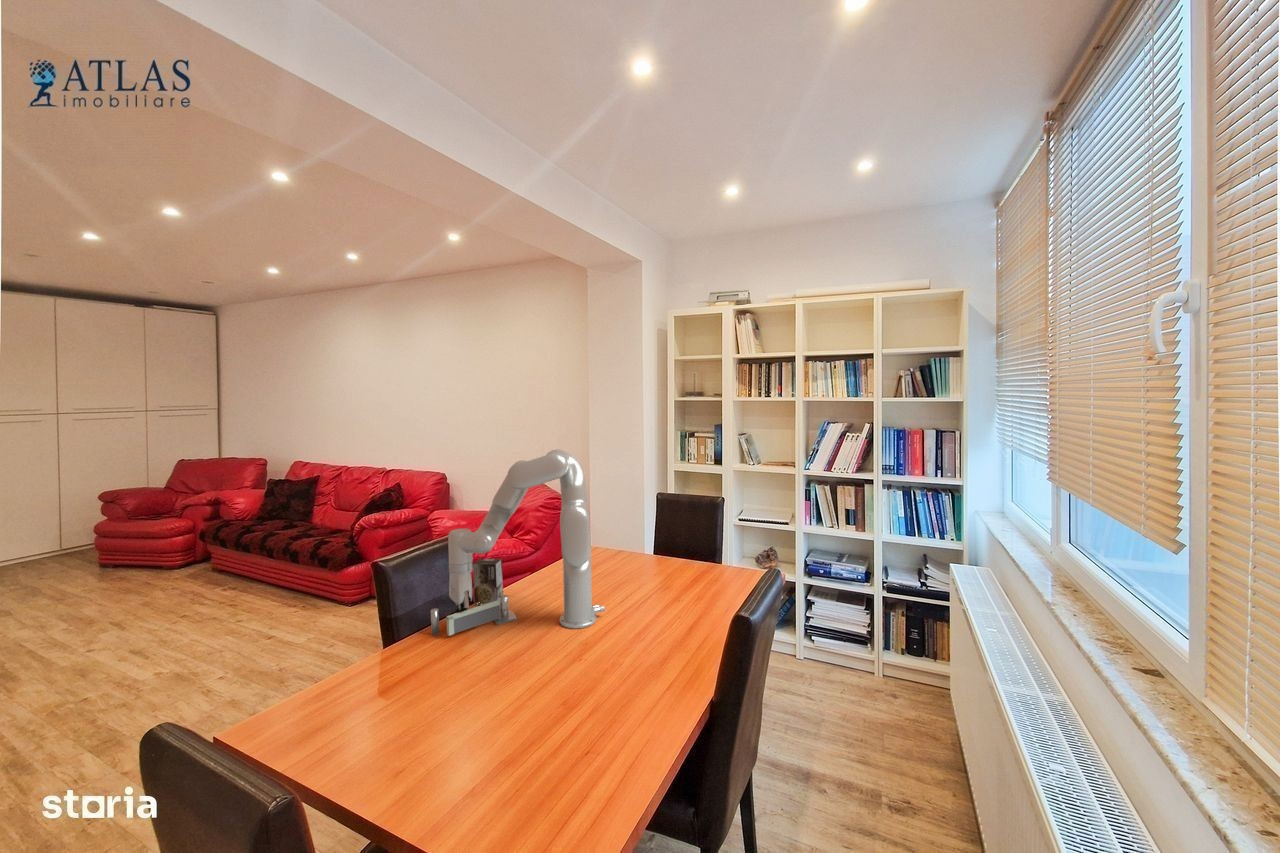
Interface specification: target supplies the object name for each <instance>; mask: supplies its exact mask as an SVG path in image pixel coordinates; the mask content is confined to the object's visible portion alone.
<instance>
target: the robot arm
mask: <svg viewBox="0 0 1280 853" xmlns="http://www.w3.org/2000/svg"><path fill="white" fill-rule="evenodd" d="M558 479H559V482H560V495H561V496H560V497H561V508H560V516H559V526H560V527H559V528H560V543H561V555H562V556H561V557H562V567H563V568H562V569H563V570H562V571H563V572H562V573H563V579H562V580H563V614H562V615H561V616H559V624H560V625H561V626H562V627H564V628H567V629H583V628H587V627H590V626H592V625H594V624H595V623H596V621H597V614H598V613H603V612H605V611H606V608H605V605H599V604H595V605H593V604H592V602H593V600H592V539H591V538H592V537H591V522H590V521H591V520H590V519H591V518H590V512H589V508H588V507H589V506H588V500H587V499H588V498H587V489H586V488H587V486H586V478H585V474H584V470H583V467H582V465H581V464H580V462H579V461H578V459H577V458H576V457H575V456H574V455H573V454H571V453H569V452H567V451H565V450H562V449H552V450H550V451H549V452H547V453H546V454H545V455H542V456H540V457H536V458H533V459H531V460H518V461H516V462H514V464H512V465H511V466H510V468H509V469H508V471H507V474H506V476H505V478H504V479H503V481H502V483H501V485H500V486H499V488H498V490H497V491H496V493H495V495H494V496H493V499H492V503H491V506H490V507H489V510H488V512H487V513H486V515H485V517H484V519H483V520H482V522H481V524H480V526H479V527H478V529H477V530H476V531H473V532H472V530H470V529H469V528H456V529H452V530H451V531H449V532H448V537H447V539H448V541H447V543H448V544H447V545H448V546H447V547H448V572H449V573H448V574H449V578H448V579H449V581H448V585H449V586H448V595H449V598H450V600H451V601H453V602H454V603H455V608H456V609H455V614H456V613H459V612H462V611H465V610H468V608H470V604H469V602H472V601H473V582H472V572H473V564H474V563H473V562H474V561H473V560H474V559H473V558H474V557H473V554H479V555H482V554H486V553H489V552H490V551H492V549H493V548H494V546H495V544H496V543H497V541H498V539H499V537H500V535H501V533H502V532H503V530H504V528H505V527H506V525H507V524H508V522H509V520H510V519H511V517H512V516H513V514H515V512H516V511H517V510H518V508H519V505H521V502H522V501H523V499H524V498H525V495H526V494H527V492H528V490H529V488H532V487H536V486H539V485H542V484H545V483H550V482H552V481H555V480H558Z"/></svg>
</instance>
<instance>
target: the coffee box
mask: <svg viewBox="0 0 1280 853" xmlns="http://www.w3.org/2000/svg"><path fill="white" fill-rule="evenodd" d="M472 572H473V590H474V594H473V595H474V606H476V607H478V605H480V606H481V604H482V605H484V604H487V603H491V602H494V601H497V600H498V601H500V596H502V595H504V586H503V585H504V583H503V582H504V581H503V559H502V558H479V559H478V560H477V561H476V562H474V563H473V570H472ZM479 602H480V603H479ZM477 603H478V604H477Z"/></svg>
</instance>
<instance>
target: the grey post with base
mask: <svg viewBox="0 0 1280 853" xmlns="http://www.w3.org/2000/svg"><path fill="white" fill-rule="evenodd" d="M517 621H518V618H517V615H515V613H514V611H513V610H509V595H508V594H503V595H502V596H500V618H498V619H496V620H493V622H494V623H495V625H496V626H498V625H504V624H508V622H509V623H513V622H517Z"/></svg>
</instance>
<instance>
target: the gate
mask: <svg viewBox="0 0 1280 853" xmlns="http://www.w3.org/2000/svg"><path fill="white" fill-rule="evenodd" d="M498 618H500V601H498V600H497V601H494V602H491V603H487V604H484V605H481V606H476V607H472V608H469V609H467V610H465V611H462V612H459V613H456V612H455V613H453V614H449V615H446V634H447V635H448V636H453V635H455V634H457V633H460V632H461V633H462V631H466V630H469V629H471V628H475V627H478V626H481V625H484V624H488V623H490V622H492V621H493V622H494V620H496V619H498Z"/></svg>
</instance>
